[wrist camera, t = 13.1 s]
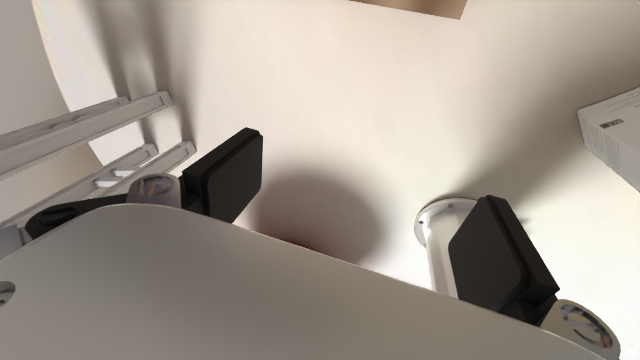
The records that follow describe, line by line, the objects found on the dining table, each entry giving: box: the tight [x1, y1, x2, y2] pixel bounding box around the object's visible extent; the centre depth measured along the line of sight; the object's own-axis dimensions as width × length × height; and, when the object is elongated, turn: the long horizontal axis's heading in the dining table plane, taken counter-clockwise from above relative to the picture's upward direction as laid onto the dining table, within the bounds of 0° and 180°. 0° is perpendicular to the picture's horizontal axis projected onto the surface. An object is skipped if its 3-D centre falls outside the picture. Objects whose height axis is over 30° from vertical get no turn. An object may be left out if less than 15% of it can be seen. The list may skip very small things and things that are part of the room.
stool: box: [0, 90, 197, 229], centre depth 31 cm, size 16×16×35 cm
